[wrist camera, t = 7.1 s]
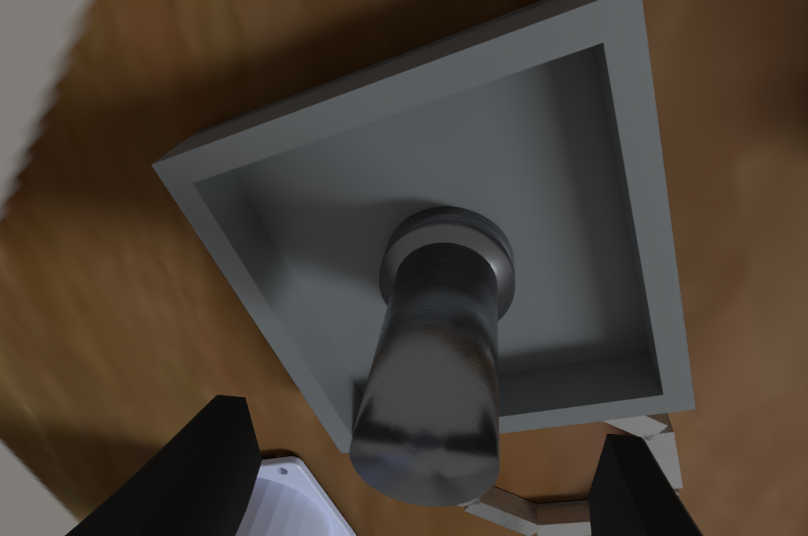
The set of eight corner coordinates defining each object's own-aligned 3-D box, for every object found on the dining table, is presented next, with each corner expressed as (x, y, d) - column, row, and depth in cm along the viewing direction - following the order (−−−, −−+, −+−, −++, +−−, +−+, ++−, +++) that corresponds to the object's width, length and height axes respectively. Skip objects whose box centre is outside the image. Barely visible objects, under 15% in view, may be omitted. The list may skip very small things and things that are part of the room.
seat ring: (478, 521, 25) (477, 541, 24) (412, 392, 21) (408, 412, 20) (682, 506, 22) (689, 529, 21) (656, 354, 18) (664, 375, 17)
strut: (514, 313, 17) (525, 525, 11) (394, 314, 18) (345, 513, 12) (513, 203, 15) (526, 395, 9) (376, 209, 16) (305, 390, 10)
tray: (356, 401, 22) (341, 453, 19) (196, 131, 16) (151, 164, 14) (672, 352, 18) (695, 409, 16) (615, -28, 12) (640, -16, 10)
